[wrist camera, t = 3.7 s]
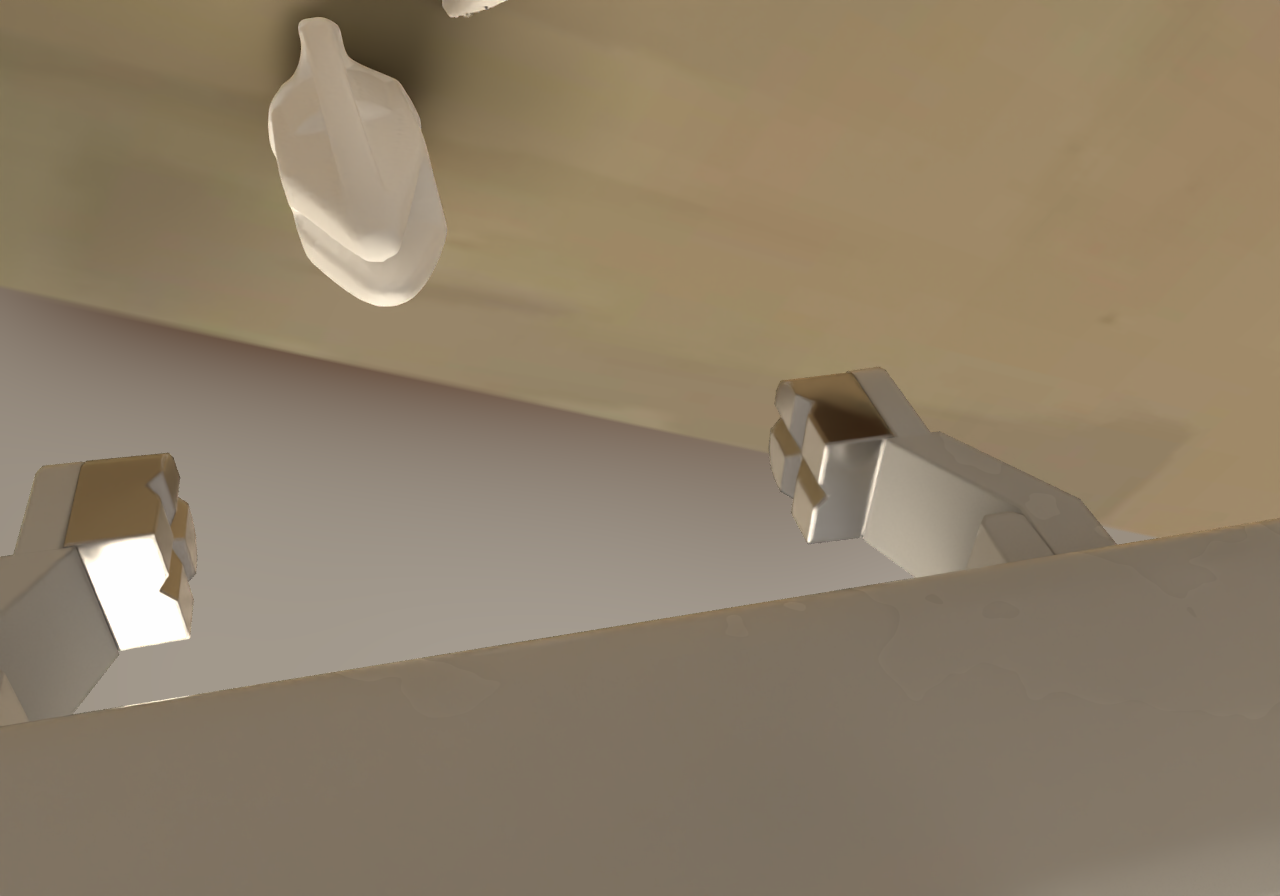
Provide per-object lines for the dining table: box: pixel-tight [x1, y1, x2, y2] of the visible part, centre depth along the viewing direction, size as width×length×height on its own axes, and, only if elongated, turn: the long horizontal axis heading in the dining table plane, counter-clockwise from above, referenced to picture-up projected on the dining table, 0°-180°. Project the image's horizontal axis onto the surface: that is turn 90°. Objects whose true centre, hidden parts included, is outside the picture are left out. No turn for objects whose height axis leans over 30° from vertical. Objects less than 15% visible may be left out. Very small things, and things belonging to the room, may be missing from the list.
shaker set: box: [268, 0, 506, 306], centre depth 25 cm, size 12×4×11 cm, turn 151°
